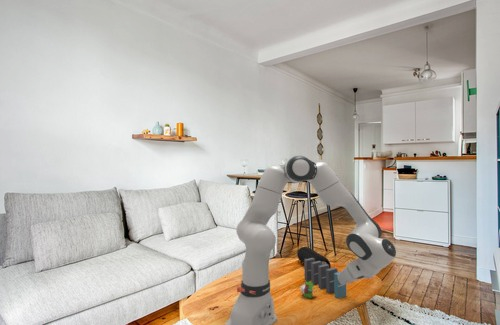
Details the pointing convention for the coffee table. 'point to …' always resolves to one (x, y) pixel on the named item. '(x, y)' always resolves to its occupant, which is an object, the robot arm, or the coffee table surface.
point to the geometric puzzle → (307, 289)
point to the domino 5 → (339, 287)
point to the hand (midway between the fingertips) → (348, 281)
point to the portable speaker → (311, 256)
